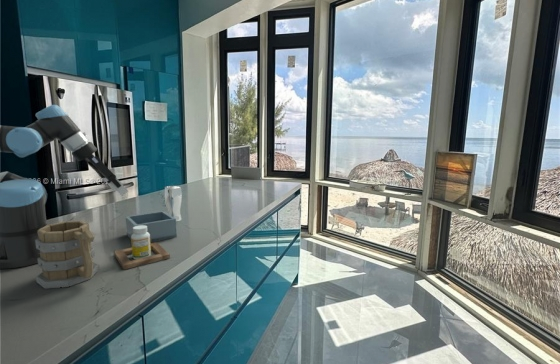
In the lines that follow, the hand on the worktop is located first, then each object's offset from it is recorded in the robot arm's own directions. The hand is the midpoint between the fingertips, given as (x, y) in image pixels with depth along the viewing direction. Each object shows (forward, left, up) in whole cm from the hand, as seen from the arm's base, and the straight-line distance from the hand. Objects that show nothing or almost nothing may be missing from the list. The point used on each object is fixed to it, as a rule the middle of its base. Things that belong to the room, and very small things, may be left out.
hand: (121, 191), depth 115 cm
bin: (+7, -14, -16) cm, 22 cm away
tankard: (-19, -37, -16) cm, 45 cm away
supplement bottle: (-1, -32, -16) cm, 36 cm away
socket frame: (-1, -32, -16) cm, 36 cm away
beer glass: (+21, +1, -16) cm, 26 cm away
